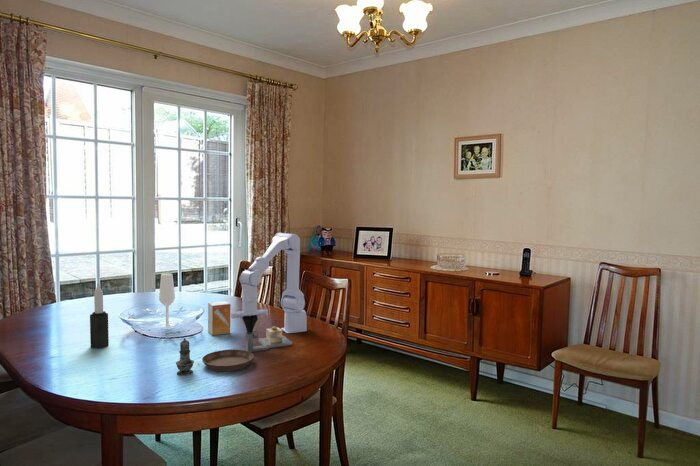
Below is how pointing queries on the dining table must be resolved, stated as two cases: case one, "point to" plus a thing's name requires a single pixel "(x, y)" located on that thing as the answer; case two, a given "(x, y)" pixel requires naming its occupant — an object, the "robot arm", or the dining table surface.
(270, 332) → the block
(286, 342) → the grey panel board
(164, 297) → the champagne flute
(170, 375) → the dining table surface
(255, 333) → the lever
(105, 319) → the black and grey bottle
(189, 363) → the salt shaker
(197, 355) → the dining table surface
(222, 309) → the small box
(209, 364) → the plant saucer
